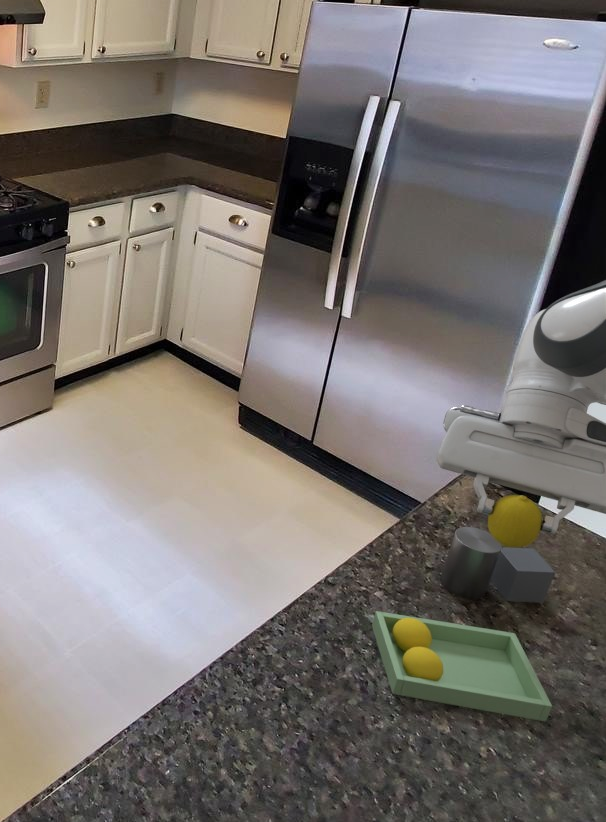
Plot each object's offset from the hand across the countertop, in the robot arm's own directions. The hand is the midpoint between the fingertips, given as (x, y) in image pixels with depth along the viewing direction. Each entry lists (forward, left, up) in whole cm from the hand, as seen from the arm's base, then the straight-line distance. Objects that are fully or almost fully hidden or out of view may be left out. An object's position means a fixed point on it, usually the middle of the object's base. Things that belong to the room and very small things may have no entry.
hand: (515, 522), depth 101 cm
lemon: (0, -1, -5) cm, 5 cm away
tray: (+6, +10, -17) cm, 21 cm away
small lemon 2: (+11, +13, -17) cm, 24 cm away
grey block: (-7, -8, -17) cm, 20 cm away
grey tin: (0, -7, -17) cm, 19 cm away
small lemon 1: (+11, +8, -17) cm, 21 cm away
